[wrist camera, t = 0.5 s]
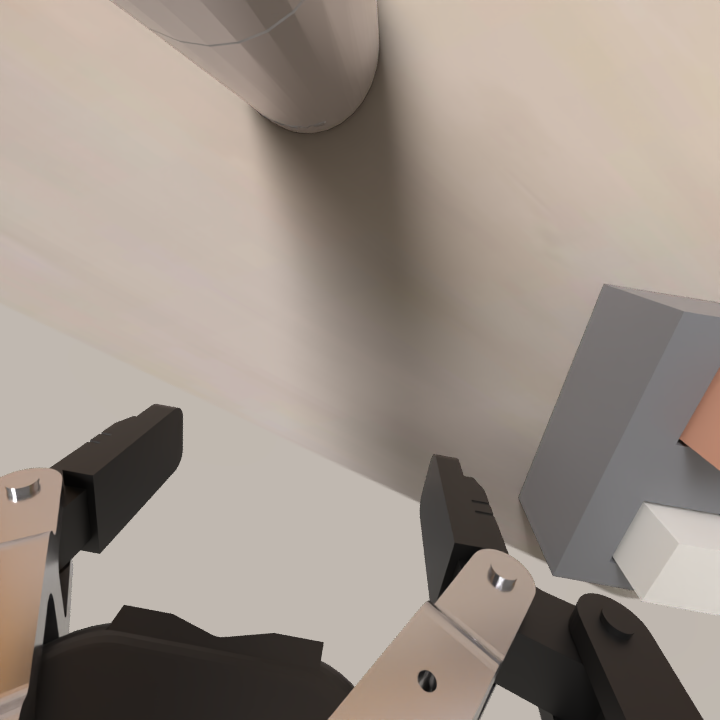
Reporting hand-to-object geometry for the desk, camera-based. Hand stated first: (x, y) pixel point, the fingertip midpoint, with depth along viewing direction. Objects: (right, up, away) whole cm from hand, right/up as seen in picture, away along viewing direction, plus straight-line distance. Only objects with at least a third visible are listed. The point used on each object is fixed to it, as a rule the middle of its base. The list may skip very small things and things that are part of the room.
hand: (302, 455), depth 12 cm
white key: (+23, -8, +16) cm, 29 cm away
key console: (+24, -2, +19) cm, 30 cm away
